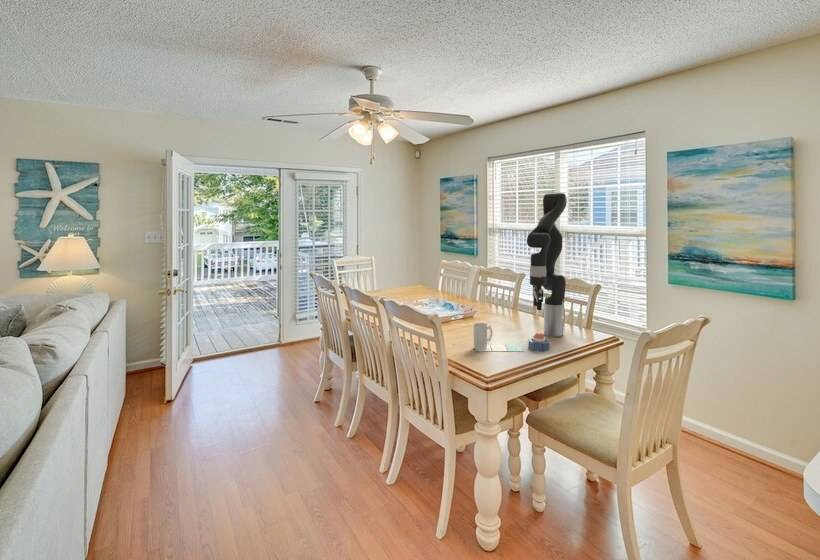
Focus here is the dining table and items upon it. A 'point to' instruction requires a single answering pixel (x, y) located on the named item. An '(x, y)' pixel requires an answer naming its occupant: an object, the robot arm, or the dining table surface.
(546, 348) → the blue ribbed round dish
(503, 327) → the dining table surface
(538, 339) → the dome button
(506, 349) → the board
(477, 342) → the mug
